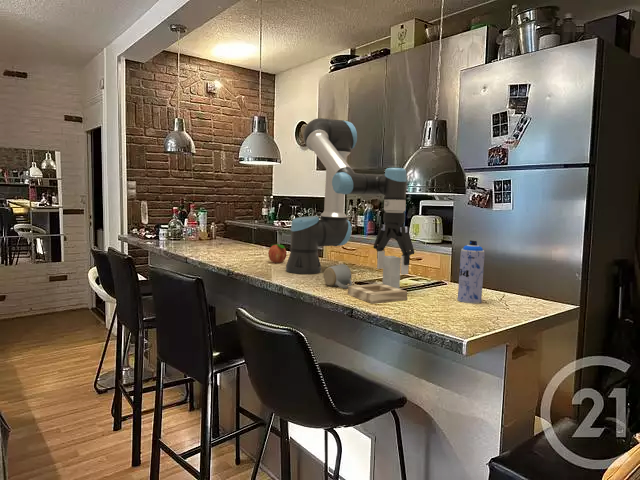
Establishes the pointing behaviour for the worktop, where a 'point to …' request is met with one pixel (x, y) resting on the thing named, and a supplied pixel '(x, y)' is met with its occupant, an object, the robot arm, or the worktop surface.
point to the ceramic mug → (338, 276)
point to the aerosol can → (471, 273)
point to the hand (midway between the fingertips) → (392, 271)
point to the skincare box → (391, 271)
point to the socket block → (377, 293)
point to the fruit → (277, 253)
